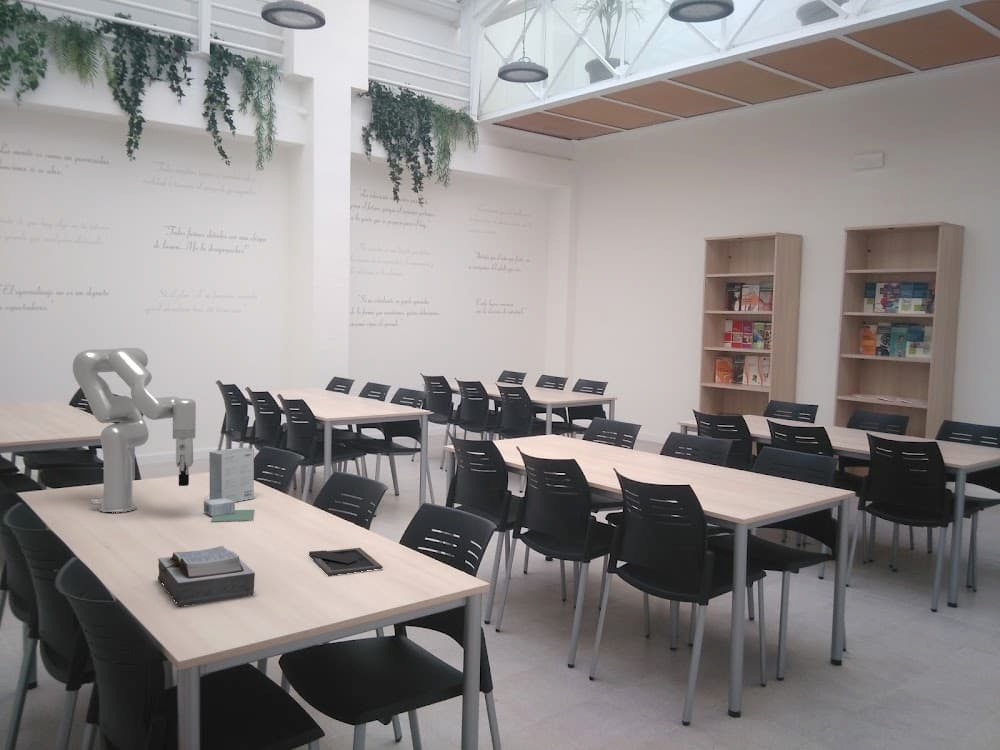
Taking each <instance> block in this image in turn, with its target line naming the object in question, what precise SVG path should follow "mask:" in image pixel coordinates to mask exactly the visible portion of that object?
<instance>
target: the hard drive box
mask: <svg viewBox="0 0 1000 750" xmlns="http://www.w3.org/2000/svg"><path fill="white" fill-rule="evenodd" d="M208 456H209V459H208V460H209V461H208V463H209V465H208V466H209V500H213V499H222V498H227V499H229V500H231V501H233V502H235V503H238V501H239V502H243V500H245V501H249V500H253V498H254V499H255V482H254V481H255V470H254V469H255V450H254V449H253V448H248V447H236V448H229V449H228V448H226V449H222V450H215V451H209V455H208ZM248 499H249V500H248Z"/></svg>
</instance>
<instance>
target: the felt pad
mask: <svg viewBox="0 0 1000 750" xmlns="http://www.w3.org/2000/svg"><path fill="white" fill-rule="evenodd" d="M254 515H255V509H235V513H233V514H226V515H218V516H211V520H210V523H229V522H230V523H232V522H231V521H238V522H252V521H251V520H253V521H254V518H253V517H254ZM249 520H250V521H249Z"/></svg>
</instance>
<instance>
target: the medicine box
mask: <svg viewBox="0 0 1000 750" xmlns="http://www.w3.org/2000/svg"><path fill="white" fill-rule="evenodd" d="M235 503H236V502H233V501H231V500H229V499H227V498H222V499H213V500H210V499H205V500H203V513H205V514H206V515H208V516H210V517H213V516H218V515H226V514H233V513H235V510H236V506H235Z"/></svg>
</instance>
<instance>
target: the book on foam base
mask: <svg viewBox="0 0 1000 750" xmlns="http://www.w3.org/2000/svg"><path fill="white" fill-rule="evenodd" d="M157 561H158V564H157V565H158V576H157V580H159V581H160V582H161V583H163V584H164V587H165V588H164V587H163V588H164V590H165V589H166V590H167V591H168V592H169V593H168V592H167V591H166V590H165V591H166V592H167V593H168V595H169V594H170V595H171V596H173V598H172V600H173V599H174V600H175V602H177V604H176V605H177V606H178V607H185V606H184V605H189V606H193V605H192V604H195V605H200V603H201V604H206V603H207V602H208V603H213V601H214V602H218V601H219V602H220V601H224V600H231V599H237V597H239V598H243V596H245V597H249V596H248V595H251V596H254V595H253V594H254V593H255V579H256V578H255V576H256V575H255V574H256V572H255V571H253V570H252V568H250V567H249V566H248V565H247V564H246V563H245V561H243V560H242V559H240V556H239V555H238V554H237V553H236V552H235V551H231V550H229V549H228V548H227V547H225V546H224V545H221V546H217V547H211V548H207V549H200V550H191V551H173V553H172V555H171V556H166V557H165V556H164V557H159V558H158V559H157ZM159 581H158V582H159ZM160 582H159V583H160ZM161 583H160V584H161ZM170 595H169V596H170ZM171 596H170V597H171ZM175 602H174V603H175Z"/></svg>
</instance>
